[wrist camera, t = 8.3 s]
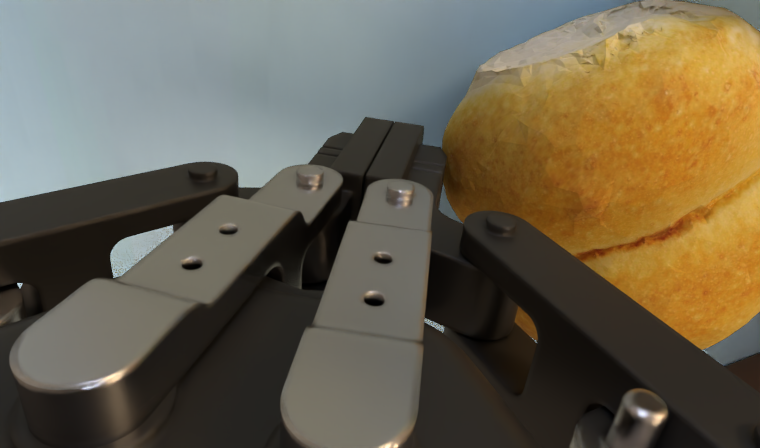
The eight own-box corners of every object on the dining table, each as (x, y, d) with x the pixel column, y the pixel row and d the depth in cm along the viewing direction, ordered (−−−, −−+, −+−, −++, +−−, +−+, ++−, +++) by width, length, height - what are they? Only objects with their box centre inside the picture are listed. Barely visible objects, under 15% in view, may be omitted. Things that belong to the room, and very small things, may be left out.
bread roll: (516, 337, 19) (515, 435, 15) (413, 76, 15) (383, 126, 12) (816, 279, 16) (898, 384, 12) (768, -59, 12) (862, -44, 9)
